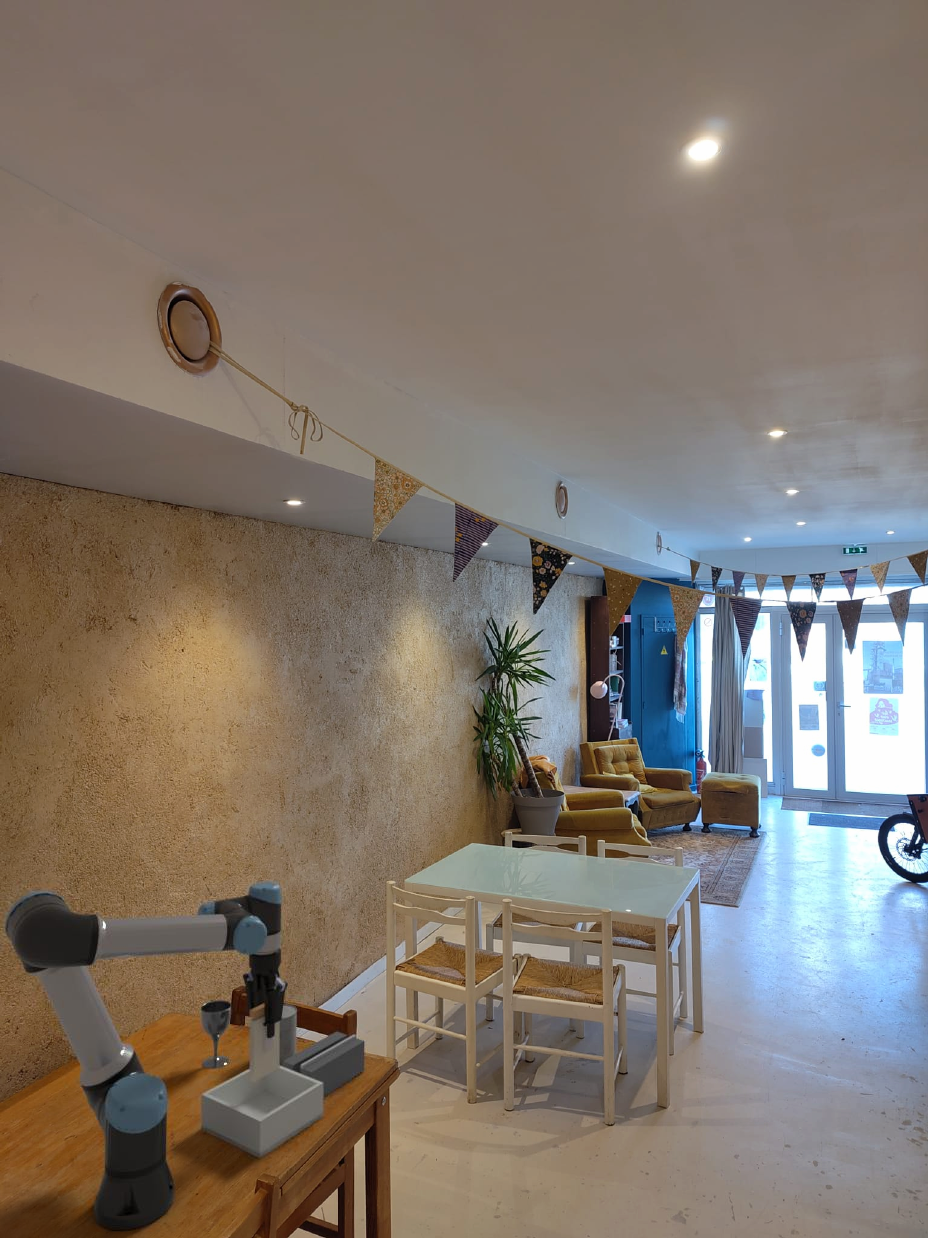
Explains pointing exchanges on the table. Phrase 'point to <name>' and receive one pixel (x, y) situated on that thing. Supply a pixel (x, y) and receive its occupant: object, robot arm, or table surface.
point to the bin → (262, 1109)
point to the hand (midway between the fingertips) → (264, 1049)
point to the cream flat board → (258, 1060)
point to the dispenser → (330, 1061)
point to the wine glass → (215, 1028)
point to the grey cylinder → (287, 1033)
